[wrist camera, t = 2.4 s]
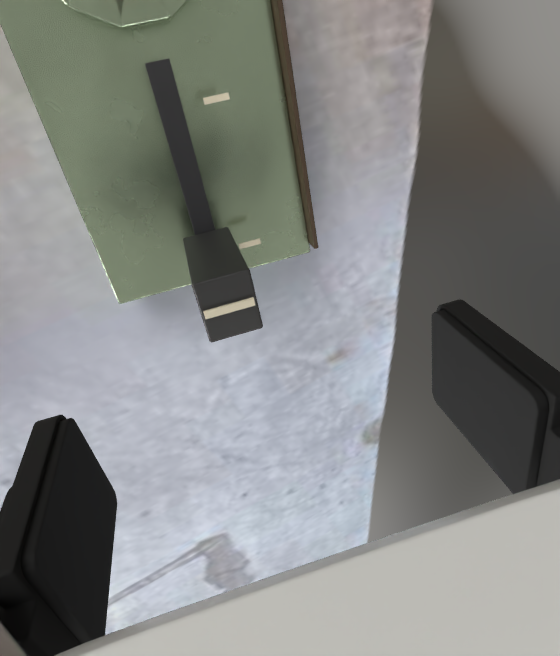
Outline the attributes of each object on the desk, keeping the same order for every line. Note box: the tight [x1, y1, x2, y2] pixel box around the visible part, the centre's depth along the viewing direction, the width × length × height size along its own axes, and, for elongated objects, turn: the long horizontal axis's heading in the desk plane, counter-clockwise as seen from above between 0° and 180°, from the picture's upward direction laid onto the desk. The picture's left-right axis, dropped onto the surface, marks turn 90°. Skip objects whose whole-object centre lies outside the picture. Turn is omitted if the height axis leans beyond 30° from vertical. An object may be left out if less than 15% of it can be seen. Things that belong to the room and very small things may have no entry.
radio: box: [0, 0, 310, 304], centre depth 19 cm, size 10×17×5 cm, turn 10°
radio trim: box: [145, 0, 318, 249], centre depth 20 cm, size 6×12×4 cm, turn 10°
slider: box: [183, 227, 263, 342], centre depth 18 cm, size 2×2×5 cm
